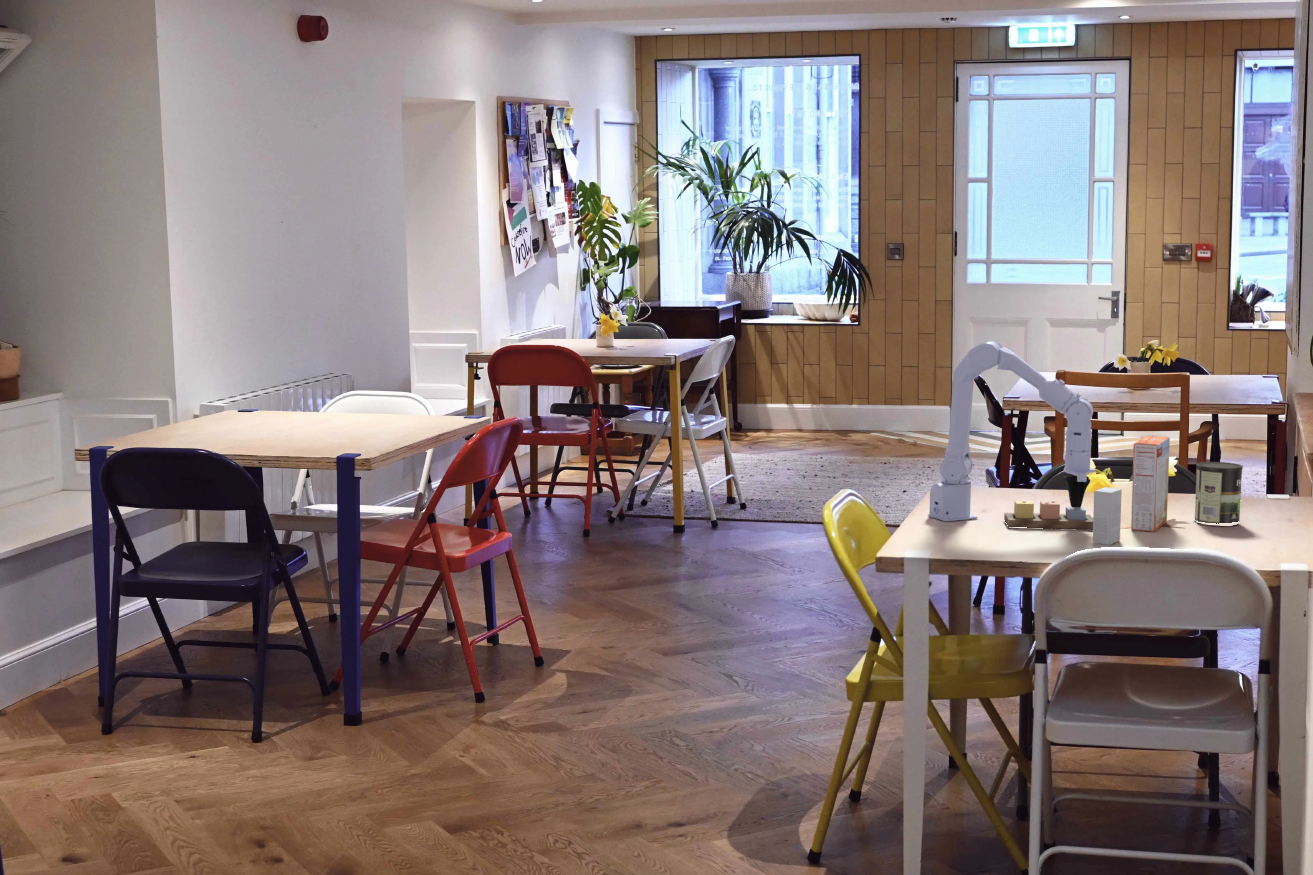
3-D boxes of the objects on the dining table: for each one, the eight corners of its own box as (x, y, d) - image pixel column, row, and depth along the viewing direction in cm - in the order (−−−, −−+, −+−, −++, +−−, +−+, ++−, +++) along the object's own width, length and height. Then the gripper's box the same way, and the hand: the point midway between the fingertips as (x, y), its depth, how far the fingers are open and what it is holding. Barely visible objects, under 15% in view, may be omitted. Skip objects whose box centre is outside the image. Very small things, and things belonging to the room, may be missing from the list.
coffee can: (1238, 519, 338) (1241, 462, 336) (1241, 528, 328) (1244, 469, 326) (1192, 517, 341) (1195, 460, 339) (1194, 525, 331) (1197, 467, 329)
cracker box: (1141, 520, 338) (1145, 434, 335) (1167, 522, 335) (1171, 436, 332) (1128, 530, 326) (1132, 441, 323) (1155, 532, 323) (1159, 443, 320)
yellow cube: (1016, 518, 331) (1016, 502, 330) (1014, 514, 335) (1014, 499, 334) (1033, 518, 330) (1033, 502, 330) (1031, 515, 334) (1031, 499, 333)
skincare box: (1101, 538, 317) (1104, 486, 315) (1120, 541, 314) (1122, 488, 313) (1091, 543, 313) (1093, 490, 311) (1109, 545, 310) (1112, 492, 308)
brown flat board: (1008, 528, 329) (1008, 519, 328) (1004, 520, 338) (1004, 512, 337) (1095, 530, 326) (1096, 521, 326) (1089, 522, 335) (1089, 514, 335)
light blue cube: (1067, 524, 329) (1068, 508, 329) (1065, 521, 333) (1065, 505, 333) (1085, 525, 329) (1086, 509, 328) (1082, 521, 333) (1083, 506, 332)
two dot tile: (1042, 518, 330) (1042, 502, 329) (1039, 515, 334) (1040, 499, 333) (1059, 519, 329) (1059, 503, 329) (1056, 515, 333) (1057, 500, 333)
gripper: (1101, 455, 321) (1098, 513, 323) (1090, 446, 335) (1087, 501, 337) (1069, 454, 322) (1067, 512, 324) (1060, 445, 336) (1057, 500, 338)
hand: (1075, 506), depth 330 cm, fingers closed
